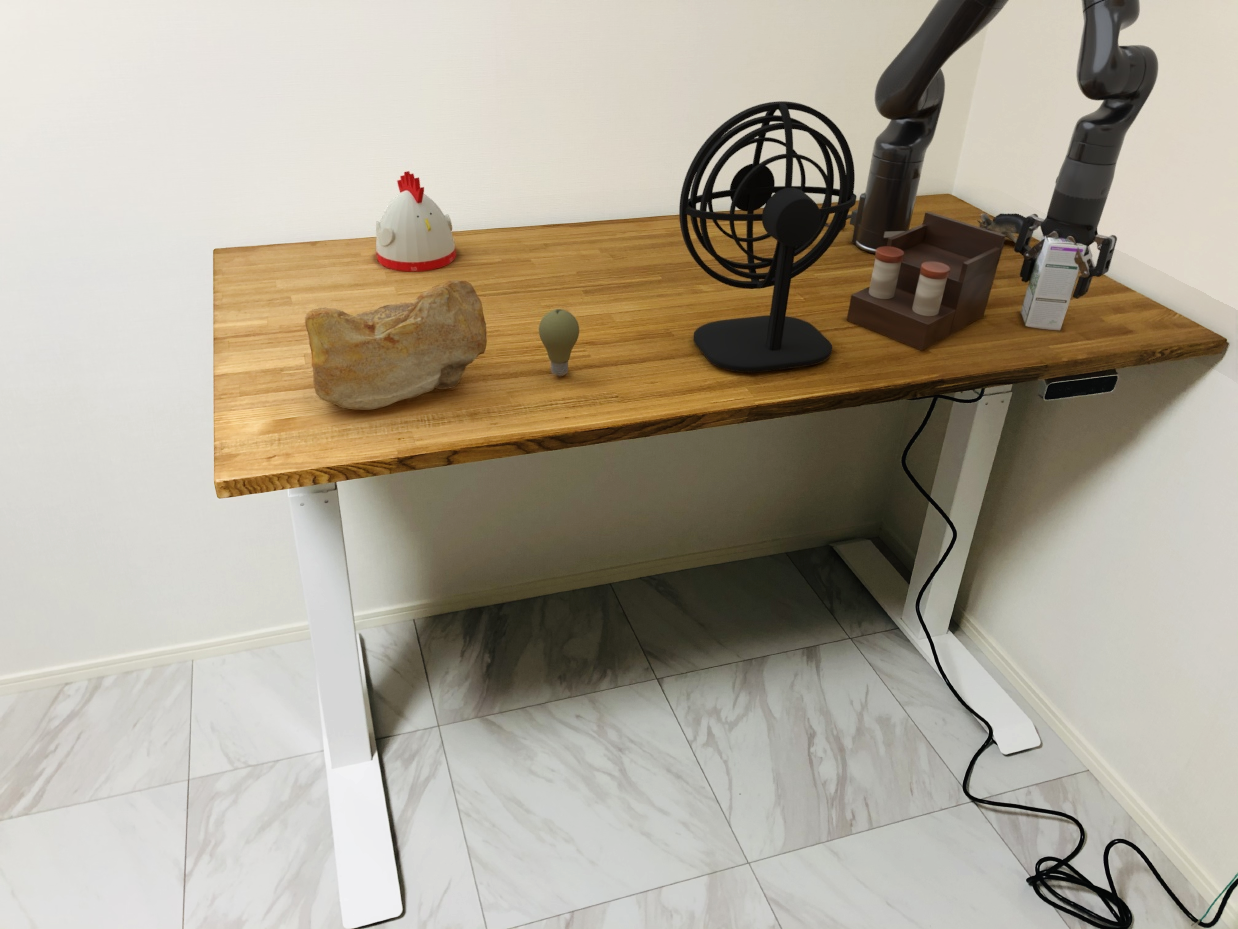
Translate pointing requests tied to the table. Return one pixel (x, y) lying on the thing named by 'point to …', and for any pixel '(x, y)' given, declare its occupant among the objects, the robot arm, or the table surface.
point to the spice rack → (929, 281)
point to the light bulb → (559, 338)
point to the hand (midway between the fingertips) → (1051, 288)
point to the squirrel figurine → (1003, 224)
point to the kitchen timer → (414, 231)
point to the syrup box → (1051, 284)
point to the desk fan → (767, 236)
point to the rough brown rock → (396, 347)
